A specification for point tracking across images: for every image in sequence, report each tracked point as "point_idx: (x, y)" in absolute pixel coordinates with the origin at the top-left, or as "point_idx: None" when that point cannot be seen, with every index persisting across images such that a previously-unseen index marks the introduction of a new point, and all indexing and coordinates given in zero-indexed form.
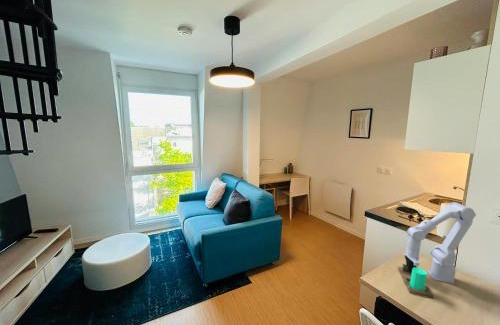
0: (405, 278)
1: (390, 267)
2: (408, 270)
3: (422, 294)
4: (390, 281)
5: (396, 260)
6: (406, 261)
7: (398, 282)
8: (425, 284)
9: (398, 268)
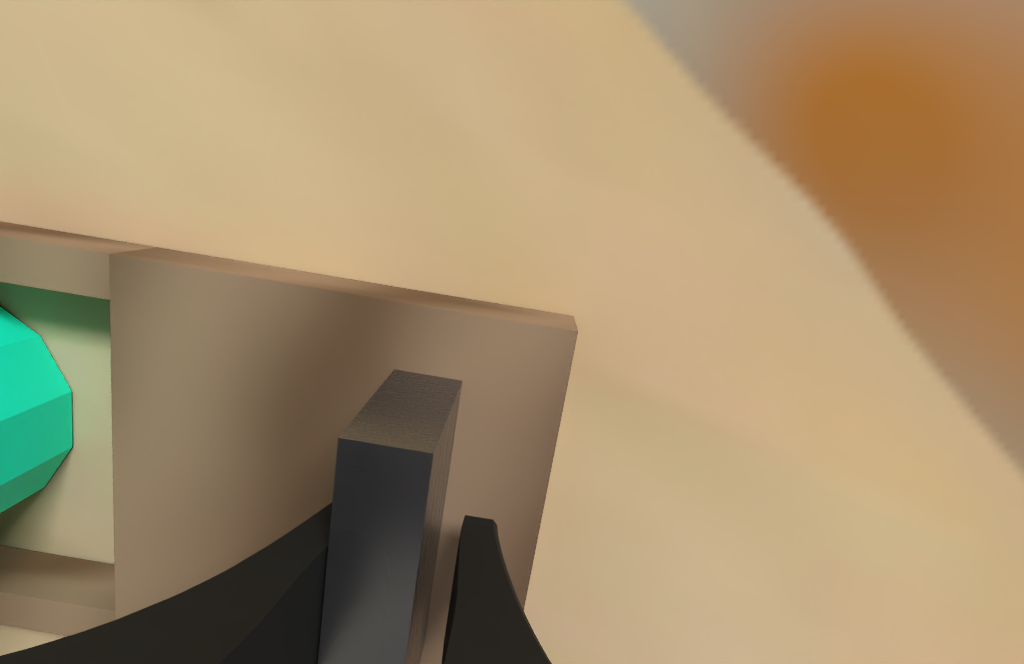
0: (82, 287)
1: (595, 148)
2: None
3: None
4: None
5: (938, 443)
6: (453, 636)
7: (11, 90)
8: (43, 612)
9: (525, 316)
